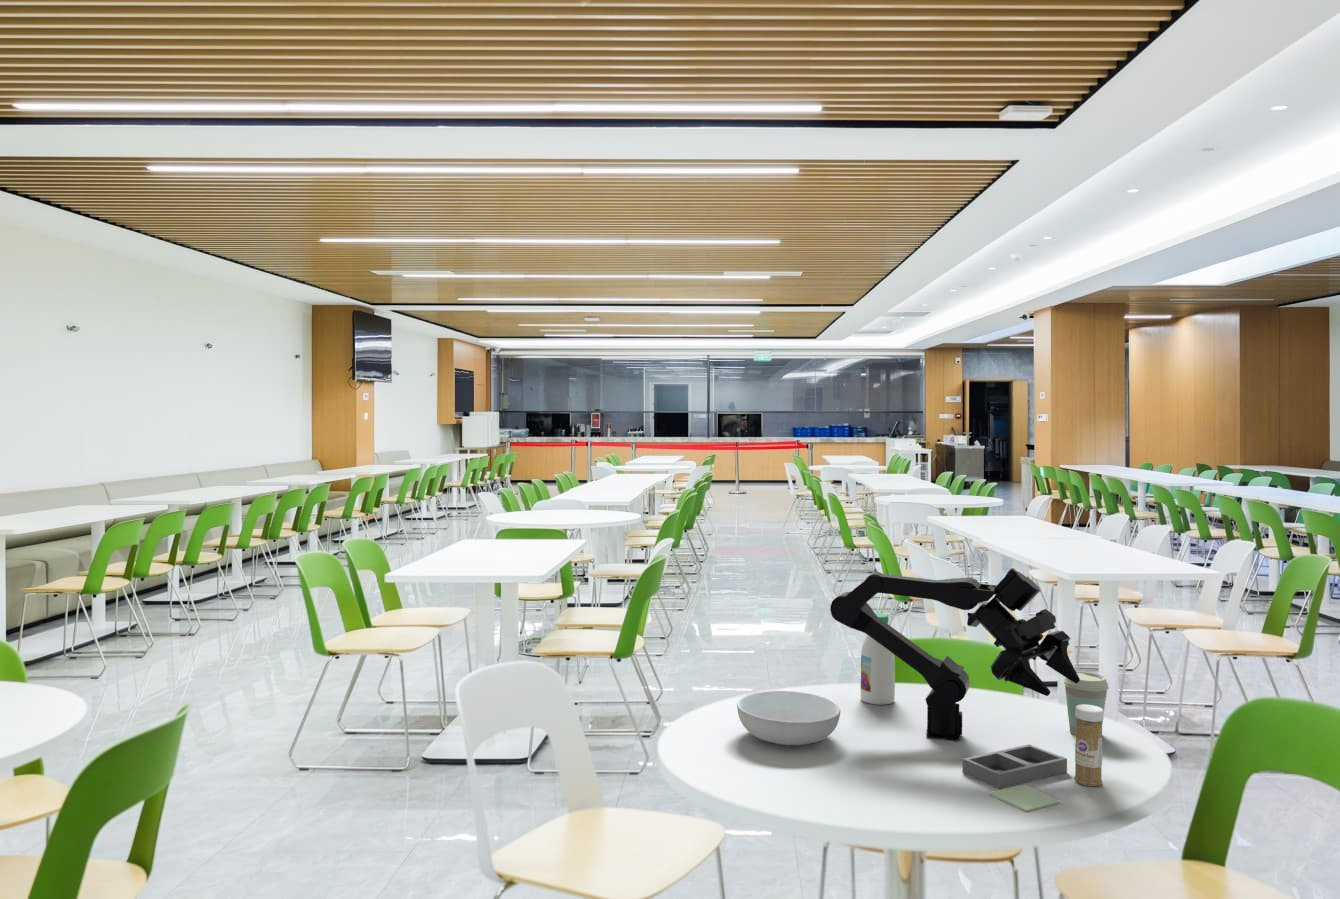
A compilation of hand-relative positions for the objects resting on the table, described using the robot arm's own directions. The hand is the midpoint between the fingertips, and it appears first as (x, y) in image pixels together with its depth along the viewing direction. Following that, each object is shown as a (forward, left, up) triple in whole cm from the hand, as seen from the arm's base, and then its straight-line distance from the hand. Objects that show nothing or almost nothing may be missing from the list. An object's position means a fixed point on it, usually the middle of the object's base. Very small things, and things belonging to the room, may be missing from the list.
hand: (1063, 688), depth 170 cm
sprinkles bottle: (+3, -8, -15) cm, 17 cm away
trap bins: (-9, -8, -14) cm, 18 cm away
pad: (-8, -20, -14) cm, 26 cm away
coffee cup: (+6, +20, -15) cm, 25 cm away
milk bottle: (-37, +30, -15) cm, 50 cm away
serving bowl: (-52, -2, -15) cm, 54 cm away
